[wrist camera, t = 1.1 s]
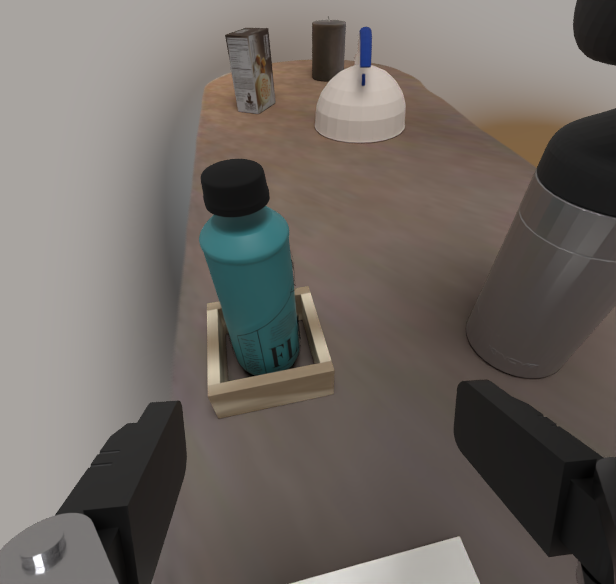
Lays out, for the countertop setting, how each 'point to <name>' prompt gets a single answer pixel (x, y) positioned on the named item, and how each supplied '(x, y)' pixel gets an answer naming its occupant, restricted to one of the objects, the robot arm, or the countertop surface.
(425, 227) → the countertop surface
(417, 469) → the countertop surface
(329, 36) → the pillar candle
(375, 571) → the ceramic tile
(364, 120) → the kettle
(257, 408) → the rectangular wooden frame
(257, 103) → the coffee box
